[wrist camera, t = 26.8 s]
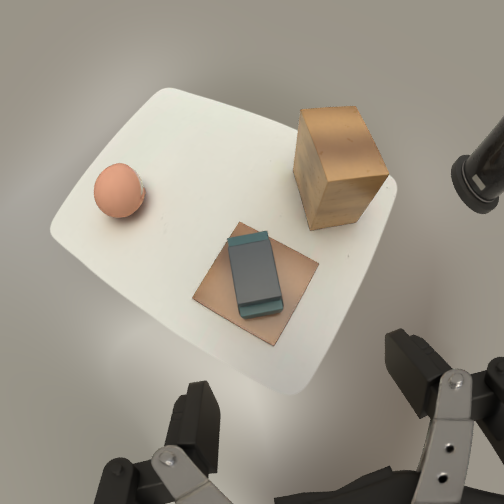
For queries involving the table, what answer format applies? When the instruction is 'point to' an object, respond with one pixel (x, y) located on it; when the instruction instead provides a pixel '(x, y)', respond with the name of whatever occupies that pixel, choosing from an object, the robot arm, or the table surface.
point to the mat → (224, 298)
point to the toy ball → (119, 191)
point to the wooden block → (336, 166)
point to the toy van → (254, 275)
